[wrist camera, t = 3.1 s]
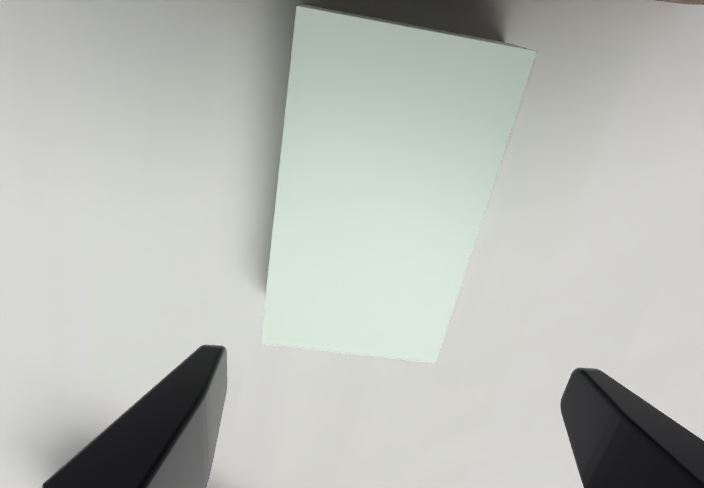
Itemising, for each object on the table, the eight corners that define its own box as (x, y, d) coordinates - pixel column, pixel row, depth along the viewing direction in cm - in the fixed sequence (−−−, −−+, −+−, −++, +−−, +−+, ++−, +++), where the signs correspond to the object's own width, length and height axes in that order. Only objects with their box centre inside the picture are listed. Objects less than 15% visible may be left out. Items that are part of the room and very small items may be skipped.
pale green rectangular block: (500, 41, 16) (536, 51, 13) (421, 312, 21) (435, 363, 18) (303, 4, 15) (296, 5, 12) (271, 294, 20) (260, 343, 17)
